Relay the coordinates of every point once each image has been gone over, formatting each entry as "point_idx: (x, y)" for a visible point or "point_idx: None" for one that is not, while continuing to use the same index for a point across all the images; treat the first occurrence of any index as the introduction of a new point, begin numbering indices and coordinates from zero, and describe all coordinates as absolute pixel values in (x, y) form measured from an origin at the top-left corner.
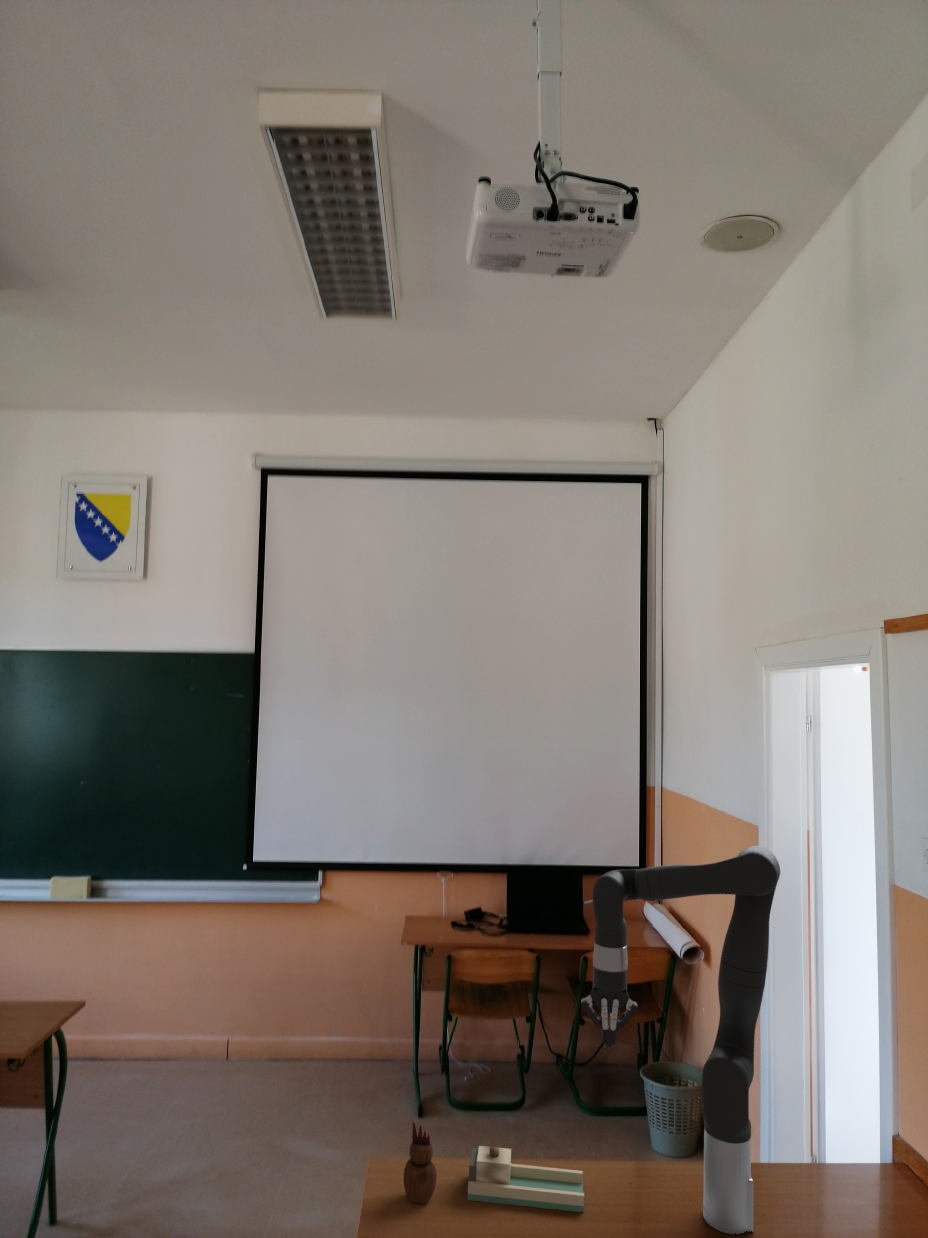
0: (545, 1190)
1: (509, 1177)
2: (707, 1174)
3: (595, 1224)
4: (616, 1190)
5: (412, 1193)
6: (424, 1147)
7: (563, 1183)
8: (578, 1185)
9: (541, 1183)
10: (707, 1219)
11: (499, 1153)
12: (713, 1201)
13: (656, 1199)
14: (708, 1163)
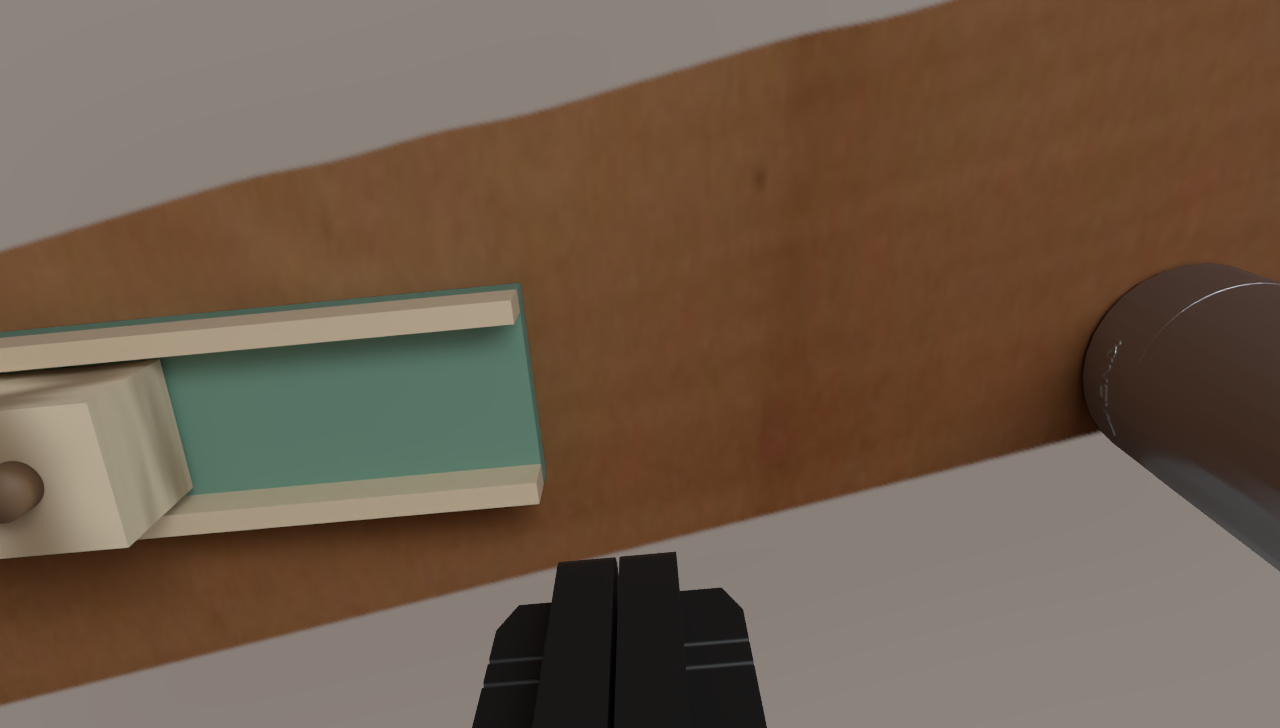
0: (353, 511)
1: (160, 508)
2: (1211, 503)
3: (601, 532)
4: (688, 263)
5: None
6: None
7: (427, 338)
8: (501, 335)
9: (322, 367)
10: (1098, 420)
11: (38, 465)
12: (1169, 486)
13: (880, 284)
14: (1255, 538)
